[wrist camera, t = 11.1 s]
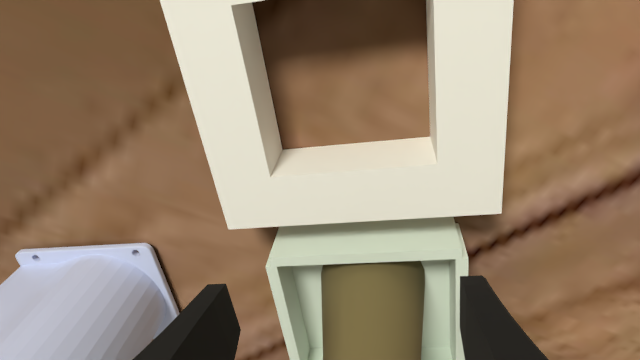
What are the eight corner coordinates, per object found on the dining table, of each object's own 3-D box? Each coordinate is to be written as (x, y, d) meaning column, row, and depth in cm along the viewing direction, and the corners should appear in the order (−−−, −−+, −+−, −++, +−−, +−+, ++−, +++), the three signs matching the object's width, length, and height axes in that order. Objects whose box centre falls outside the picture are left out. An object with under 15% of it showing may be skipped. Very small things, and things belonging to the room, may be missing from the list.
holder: (244, 198, 25) (228, 229, 22) (174, -65, 18) (140, -64, 16) (486, 181, 22) (501, 213, 20) (498, -124, 16) (521, -135, 14)
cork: (448, 275, 25) (492, 487, 15) (378, 329, 27) (379, 539, 18) (365, 216, 23) (357, 409, 14) (300, 280, 26) (257, 477, 17)
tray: (304, 347, 30) (297, 386, 27) (275, 224, 25) (263, 258, 23) (458, 345, 28) (466, 387, 26) (458, 213, 23) (468, 248, 21)
